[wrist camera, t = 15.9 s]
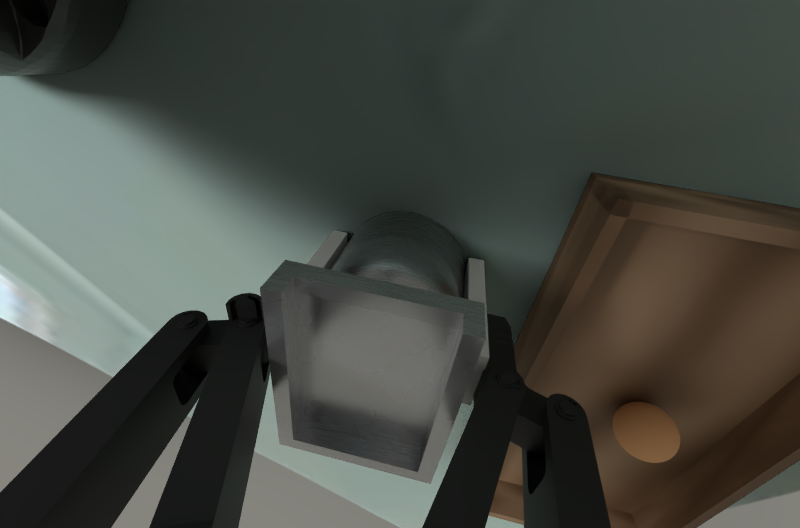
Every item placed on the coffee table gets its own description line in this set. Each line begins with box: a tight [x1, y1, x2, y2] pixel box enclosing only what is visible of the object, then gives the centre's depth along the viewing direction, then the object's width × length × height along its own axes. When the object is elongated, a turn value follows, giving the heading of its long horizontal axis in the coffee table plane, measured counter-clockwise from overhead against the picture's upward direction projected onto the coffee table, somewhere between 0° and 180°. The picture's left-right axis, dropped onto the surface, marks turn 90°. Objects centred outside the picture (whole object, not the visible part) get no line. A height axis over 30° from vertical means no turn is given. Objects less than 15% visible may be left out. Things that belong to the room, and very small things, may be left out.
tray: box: [489, 173, 800, 528], centre depth 19 cm, size 14×25×3 cm, turn 173°
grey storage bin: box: [260, 212, 486, 484], centre depth 15 cm, size 6×8×8 cm
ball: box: [613, 402, 680, 463], centre depth 18 cm, size 3×3×3 cm
